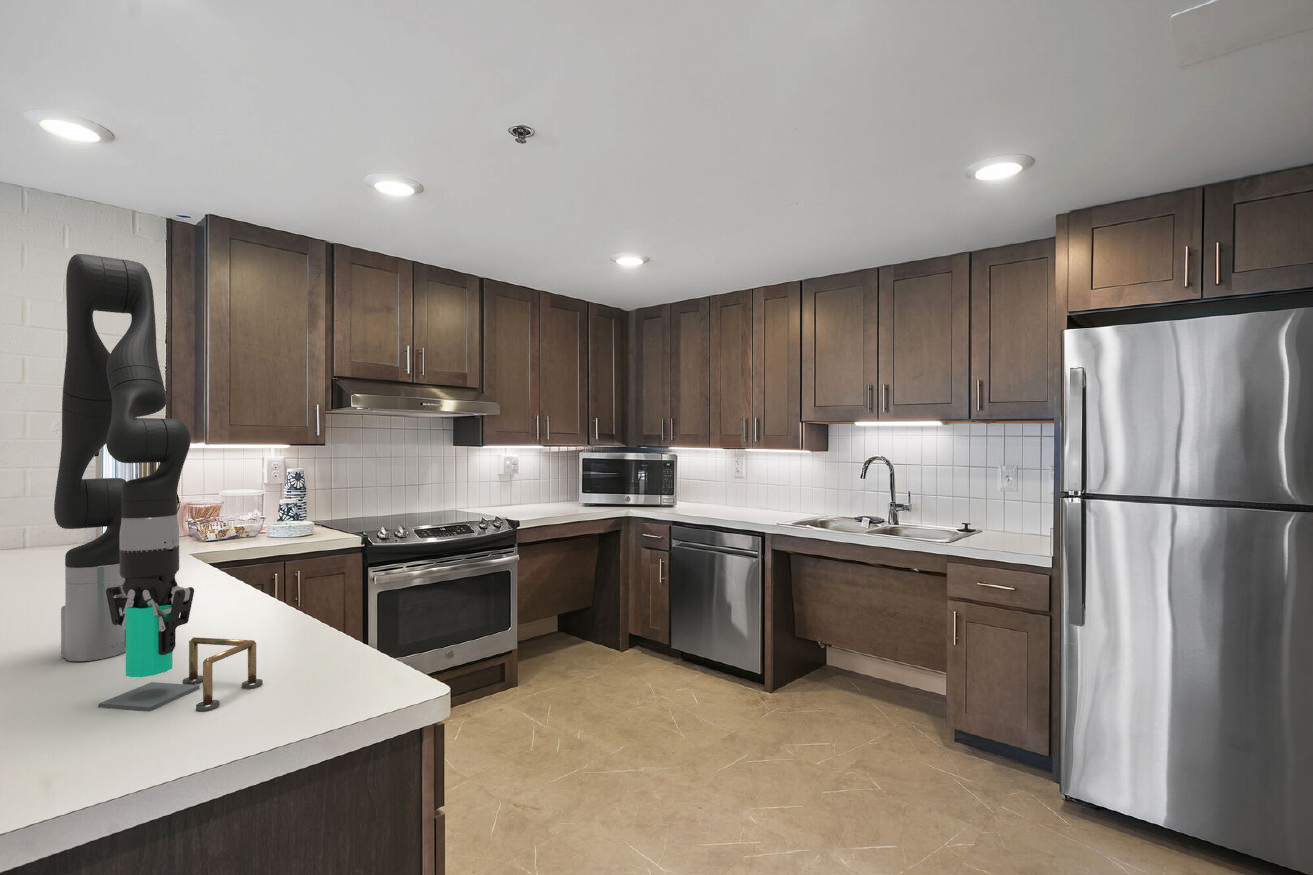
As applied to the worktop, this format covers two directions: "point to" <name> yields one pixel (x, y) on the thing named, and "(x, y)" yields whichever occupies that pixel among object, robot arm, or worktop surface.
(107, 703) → the coaster
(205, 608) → the worktop surface
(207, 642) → the handrail
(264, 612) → the worktop surface
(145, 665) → the candle
